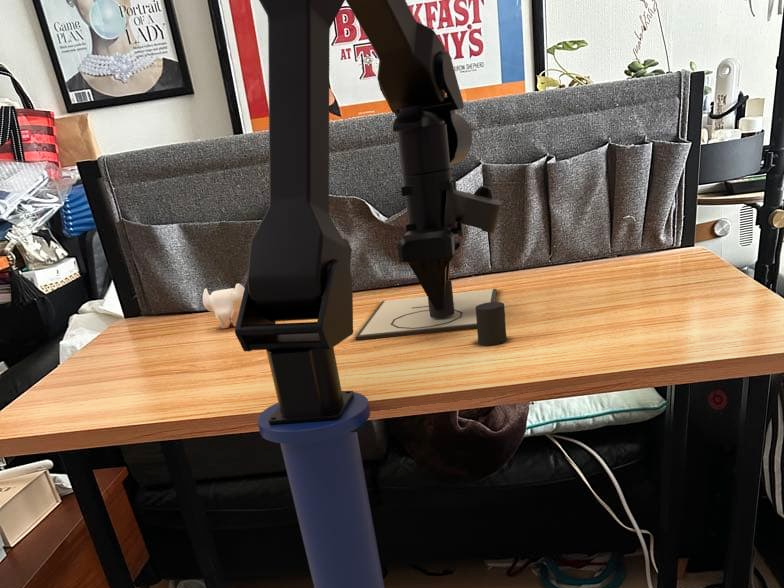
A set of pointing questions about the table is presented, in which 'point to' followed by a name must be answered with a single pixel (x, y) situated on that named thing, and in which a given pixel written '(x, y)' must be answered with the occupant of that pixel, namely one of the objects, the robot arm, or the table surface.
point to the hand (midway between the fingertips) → (440, 306)
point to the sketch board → (423, 316)
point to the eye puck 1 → (448, 303)
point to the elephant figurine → (224, 304)
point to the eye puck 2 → (491, 323)
